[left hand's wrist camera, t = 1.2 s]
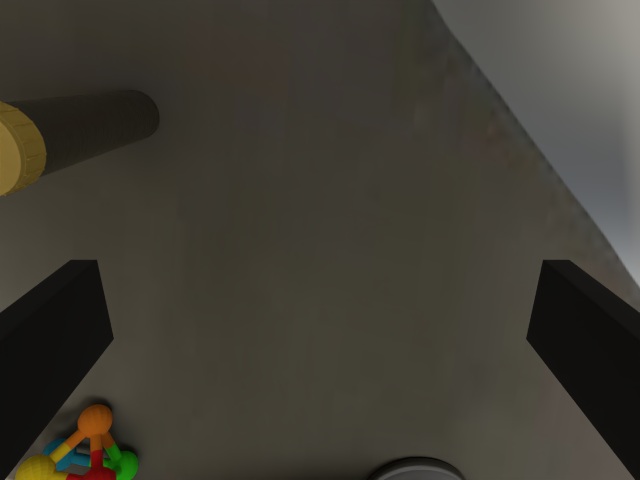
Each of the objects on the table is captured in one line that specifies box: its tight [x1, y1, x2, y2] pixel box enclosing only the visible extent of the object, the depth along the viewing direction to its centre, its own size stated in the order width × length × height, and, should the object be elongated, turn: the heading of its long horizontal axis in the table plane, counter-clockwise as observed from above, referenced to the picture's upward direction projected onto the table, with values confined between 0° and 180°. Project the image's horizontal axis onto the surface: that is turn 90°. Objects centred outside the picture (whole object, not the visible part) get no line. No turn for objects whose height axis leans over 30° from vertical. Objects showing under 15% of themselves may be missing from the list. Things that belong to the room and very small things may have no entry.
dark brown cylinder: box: [4, 91, 159, 178], centre depth 31 cm, size 4×4×20 cm
